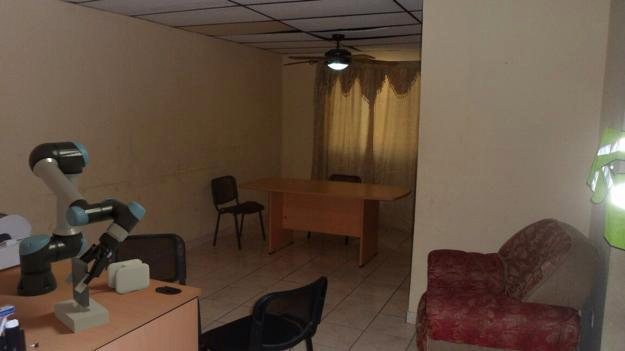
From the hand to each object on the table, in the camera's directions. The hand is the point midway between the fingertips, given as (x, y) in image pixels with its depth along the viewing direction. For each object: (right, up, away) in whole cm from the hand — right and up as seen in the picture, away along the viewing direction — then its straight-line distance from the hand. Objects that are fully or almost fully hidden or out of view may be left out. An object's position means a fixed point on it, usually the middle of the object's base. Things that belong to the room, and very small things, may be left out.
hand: (71, 286), depth 170 cm
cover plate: (+2, -7, +3) cm, 8 cm away
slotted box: (+1, -14, +4) cm, 15 cm away
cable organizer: (+6, -10, +38) cm, 40 cm away
